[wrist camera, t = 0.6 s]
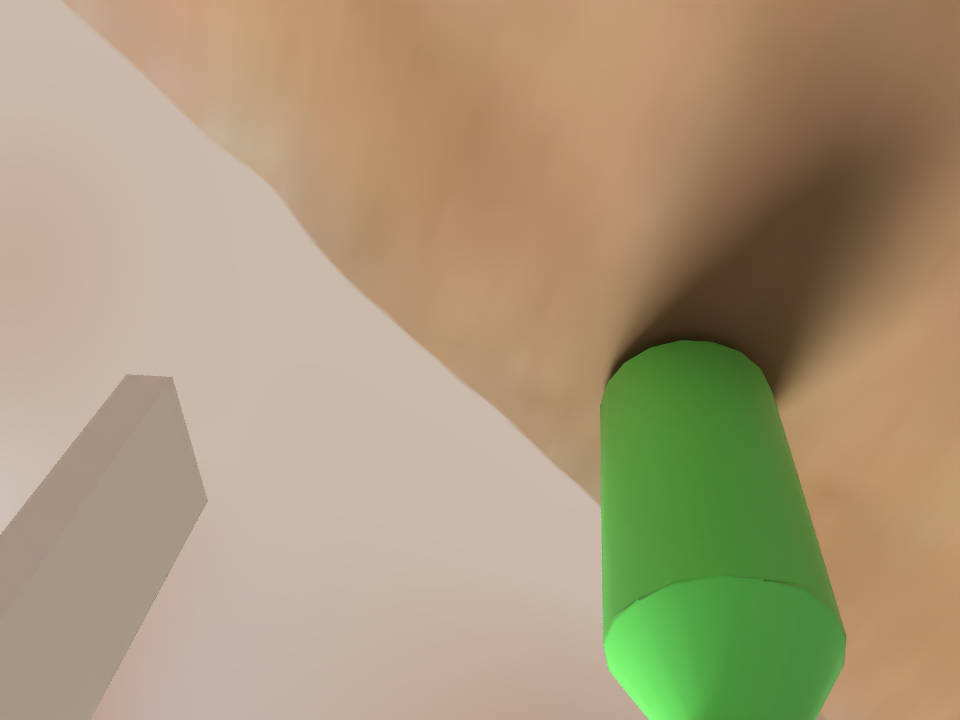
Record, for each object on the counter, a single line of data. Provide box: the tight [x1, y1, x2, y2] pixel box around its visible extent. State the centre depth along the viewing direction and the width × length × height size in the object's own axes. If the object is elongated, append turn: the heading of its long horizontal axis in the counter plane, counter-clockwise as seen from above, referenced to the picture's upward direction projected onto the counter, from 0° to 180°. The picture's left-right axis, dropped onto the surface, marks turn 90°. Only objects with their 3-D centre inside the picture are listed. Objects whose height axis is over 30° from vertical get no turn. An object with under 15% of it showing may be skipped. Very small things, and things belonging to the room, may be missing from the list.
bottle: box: [600, 340, 846, 720], centre depth 33 cm, size 9×9×25 cm
